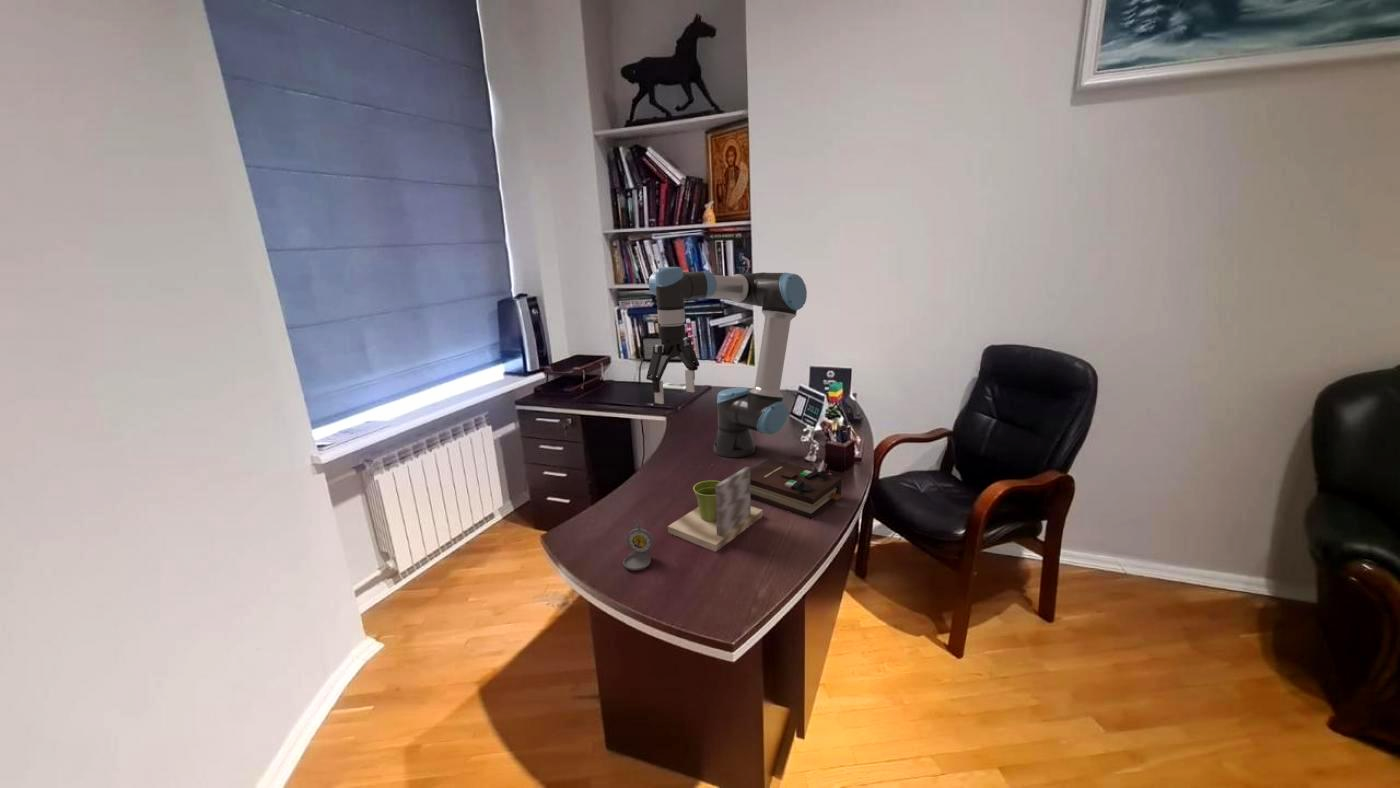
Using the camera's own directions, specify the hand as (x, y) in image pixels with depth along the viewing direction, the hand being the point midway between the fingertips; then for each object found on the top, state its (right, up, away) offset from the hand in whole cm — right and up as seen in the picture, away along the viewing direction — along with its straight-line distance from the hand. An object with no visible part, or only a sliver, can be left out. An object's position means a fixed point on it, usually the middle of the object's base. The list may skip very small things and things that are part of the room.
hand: (675, 397), depth 158 cm
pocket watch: (-8, -40, -24) cm, 47 cm away
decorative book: (+34, -30, +7) cm, 46 cm away
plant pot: (+10, -33, -7) cm, 35 cm away
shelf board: (+12, -35, -8) cm, 38 cm away
